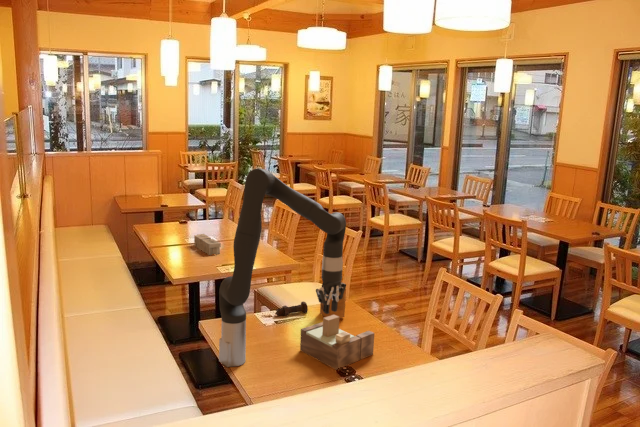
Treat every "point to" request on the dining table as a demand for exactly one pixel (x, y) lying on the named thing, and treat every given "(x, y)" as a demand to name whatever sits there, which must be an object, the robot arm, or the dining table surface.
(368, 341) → the wooden box frame
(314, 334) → the lid
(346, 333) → the tan wooden block
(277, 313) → the bolt
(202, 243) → the block tower
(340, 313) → the coffee package
